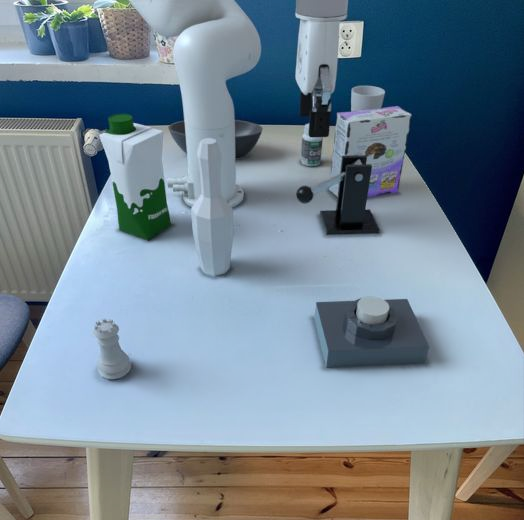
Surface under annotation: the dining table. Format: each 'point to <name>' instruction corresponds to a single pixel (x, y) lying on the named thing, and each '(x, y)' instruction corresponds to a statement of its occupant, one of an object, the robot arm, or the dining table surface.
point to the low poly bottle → (212, 213)
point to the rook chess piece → (110, 351)
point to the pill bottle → (311, 149)
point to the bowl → (244, 136)
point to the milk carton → (137, 176)
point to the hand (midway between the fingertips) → (313, 125)
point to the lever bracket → (351, 201)
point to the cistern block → (369, 336)
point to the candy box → (373, 145)
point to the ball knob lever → (320, 186)
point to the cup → (366, 98)
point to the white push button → (372, 310)
